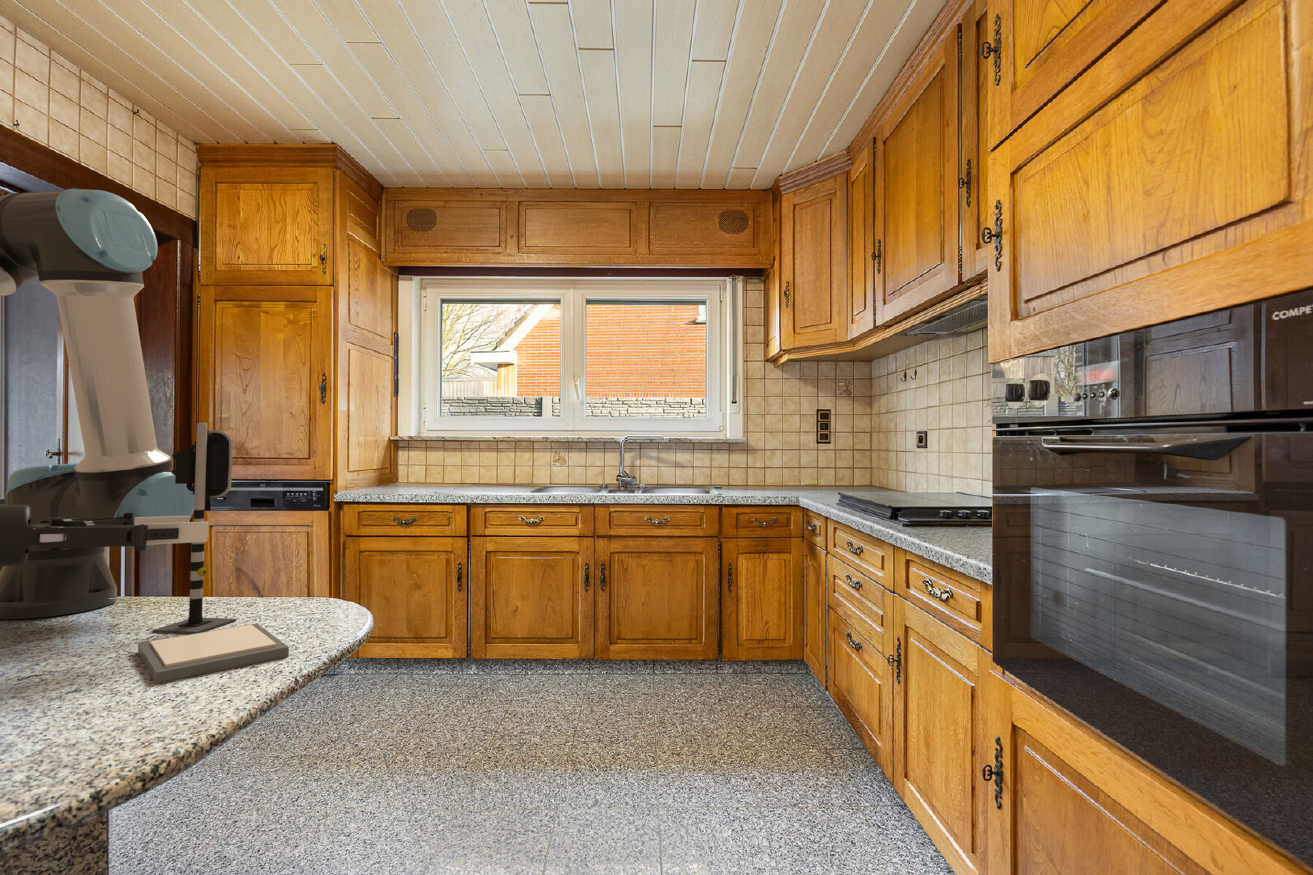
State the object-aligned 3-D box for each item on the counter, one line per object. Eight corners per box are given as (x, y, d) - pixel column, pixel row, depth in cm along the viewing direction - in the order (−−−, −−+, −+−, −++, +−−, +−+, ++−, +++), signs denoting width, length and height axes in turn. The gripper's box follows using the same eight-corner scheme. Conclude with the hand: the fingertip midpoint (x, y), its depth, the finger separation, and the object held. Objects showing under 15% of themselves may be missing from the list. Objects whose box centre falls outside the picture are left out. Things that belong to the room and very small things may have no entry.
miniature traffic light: (239, 620, 93) (245, 424, 94) (197, 634, 85) (204, 421, 86) (194, 618, 93) (201, 424, 94) (148, 632, 86) (156, 421, 87)
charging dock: (137, 652, 77) (138, 640, 77) (256, 631, 87) (256, 621, 87) (156, 683, 67) (156, 669, 67) (288, 656, 76) (288, 644, 77)
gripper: (-15, 556, 82) (180, 545, 97) (-26, 581, 65) (214, 563, 80) (-10, 501, 83) (183, 499, 98) (-20, 510, 65) (218, 506, 81)
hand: (198, 527), depth 89 cm, fingers open, 13 cm apart
